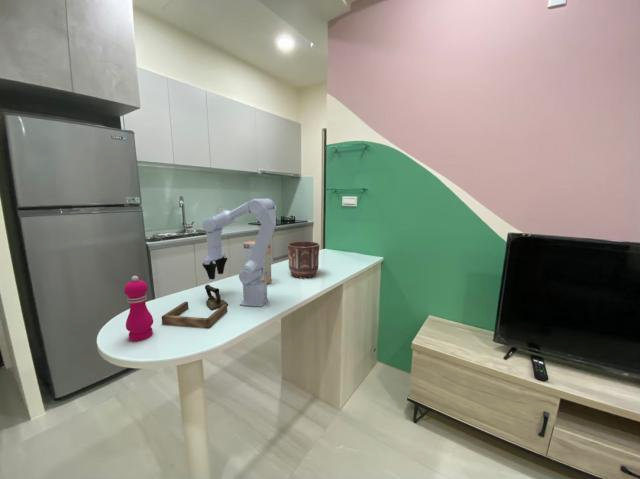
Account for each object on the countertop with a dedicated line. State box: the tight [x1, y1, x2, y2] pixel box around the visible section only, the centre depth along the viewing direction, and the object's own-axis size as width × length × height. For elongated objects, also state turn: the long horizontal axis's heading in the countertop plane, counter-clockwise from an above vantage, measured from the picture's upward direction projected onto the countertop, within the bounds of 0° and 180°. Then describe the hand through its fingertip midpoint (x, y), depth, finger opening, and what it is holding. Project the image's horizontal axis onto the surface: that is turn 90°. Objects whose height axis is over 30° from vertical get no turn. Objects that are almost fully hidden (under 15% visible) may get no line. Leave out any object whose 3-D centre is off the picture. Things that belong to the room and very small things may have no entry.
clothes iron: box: [204, 284, 229, 312], centre depth 109 cm, size 7×11×10 cm, turn 47°
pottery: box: [286, 241, 320, 279], centre depth 150 cm, size 18×18×18 cm
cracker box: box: [243, 240, 272, 285], centre depth 137 cm, size 14×6×21 cm, turn 58°
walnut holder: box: [161, 301, 228, 329], centre depth 97 cm, size 17×13×3 cm
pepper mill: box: [123, 275, 154, 342], centre depth 83 cm, size 7×7×20 cm
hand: (216, 276), depth 116 cm, fingers open, 7 cm apart
